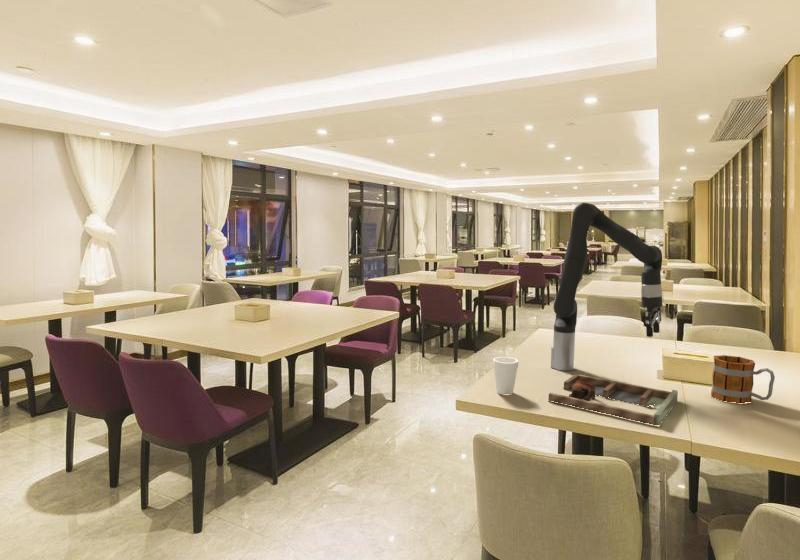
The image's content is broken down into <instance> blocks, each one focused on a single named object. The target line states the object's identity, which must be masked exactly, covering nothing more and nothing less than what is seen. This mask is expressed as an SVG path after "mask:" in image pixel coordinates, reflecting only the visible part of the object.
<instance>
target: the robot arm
mask: <svg viewBox="0 0 800 560" xmlns="http://www.w3.org/2000/svg"><path fill="white" fill-rule="evenodd" d="M571 217H572V218H571V226H570V227H571V228H570V234H569V238H568V242H567V247H566V252H565V255H564V260H563V263H562V264H563V265H562V269H561V275H560V276H561V277H560V283H559V288H558V290H557V294H556V296H555V299H554V302H553V312H554V313H555V322H554V325H553V344H552V345H553V346H552V347H551V353H550V368H553V369H554V370H558V371H565V372H566V371H573V370H574V366H575V363H574V361H575V343H576V342H575V341H576V326H577V321H578V319H577V317H578V301H576V294H577V290H578V287H579V284H580V282H581V279H582V277H583V275H584V273H585V269H586V265H587V259H588V241H587V239H588V233H589V229H590V226H591V227H593V228H595V229H597V230H599V231H600V232H602V233H604V234H605V235H606V236H607V237H608V238H610V240H611V241H613V242H614V243H616V244H617V245H618V246H619V247H621V248H623V249H624V250H625V251H627V252H629V253H630V254H631V255H632V256H633V257H634V258H635V259H637V260H638V261H639V262H641V263H642V264H643V270H642V271H641V276H640V277H641V290H640V293H641V296H640V297H641V307H642V308H645V309H646V311H643V327H645V328H646V329H645V330H646V337H648V338H649V337H650V338H652V337H654V334H659V333H660V332H661V331H660V324H661V321H662V309H661V308H662V307H663V287H662V275H661V273H662V272H661V270H662V263H663V253H662V252H663V251H662V250H661V249H660V247H658V246H657V245H656V246H655V245H649V244H647V243H645V242H644V241H642V239H641V238H640V237H639V236H638V235H637V234H635V233H633V232H632V231H630V230H628V229H627V228H625V227H623V226H622V225H621V224H618V223H617V222H615V221H613V220H612V219H611V218H610V217H608V216H607V215H606V214H605V213H603V211H602V210H601V209H600V208H598V207H597V206H596V204H593V203H588V202H580V203H578V204H577V205H576V206H575V207H574V209H573V211H572V216H571Z"/></svg>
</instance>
